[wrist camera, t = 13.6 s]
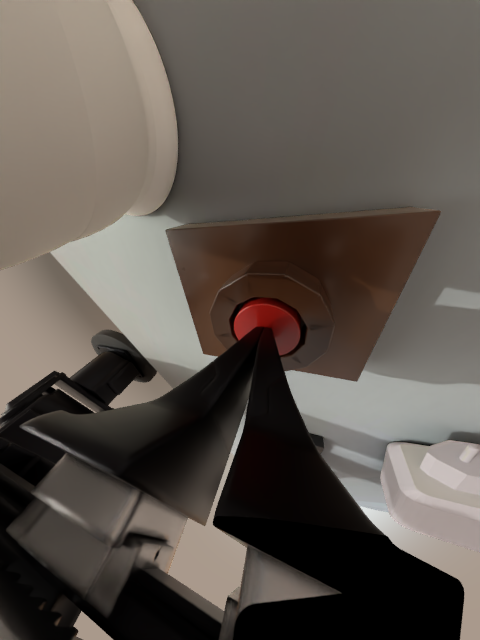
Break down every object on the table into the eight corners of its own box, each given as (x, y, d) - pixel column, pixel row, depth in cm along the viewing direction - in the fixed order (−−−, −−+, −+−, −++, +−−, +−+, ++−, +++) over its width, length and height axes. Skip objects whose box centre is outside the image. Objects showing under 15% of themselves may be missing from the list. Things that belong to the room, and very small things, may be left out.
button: (244, 334, 12) (236, 351, 11) (240, 287, 10) (229, 301, 9) (297, 341, 11) (296, 361, 10) (305, 290, 9) (304, 307, 8)
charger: (569, 421, 11) (483, 494, 18) (390, 405, 15) (378, 470, 22) (696, 531, 8) (527, 567, 15) (417, 472, 11) (391, 524, 19)
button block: (213, 338, 17) (192, 370, 14) (185, 224, 11) (140, 236, 8) (350, 358, 13) (364, 407, 10) (413, 206, 8) (483, 215, 5)
